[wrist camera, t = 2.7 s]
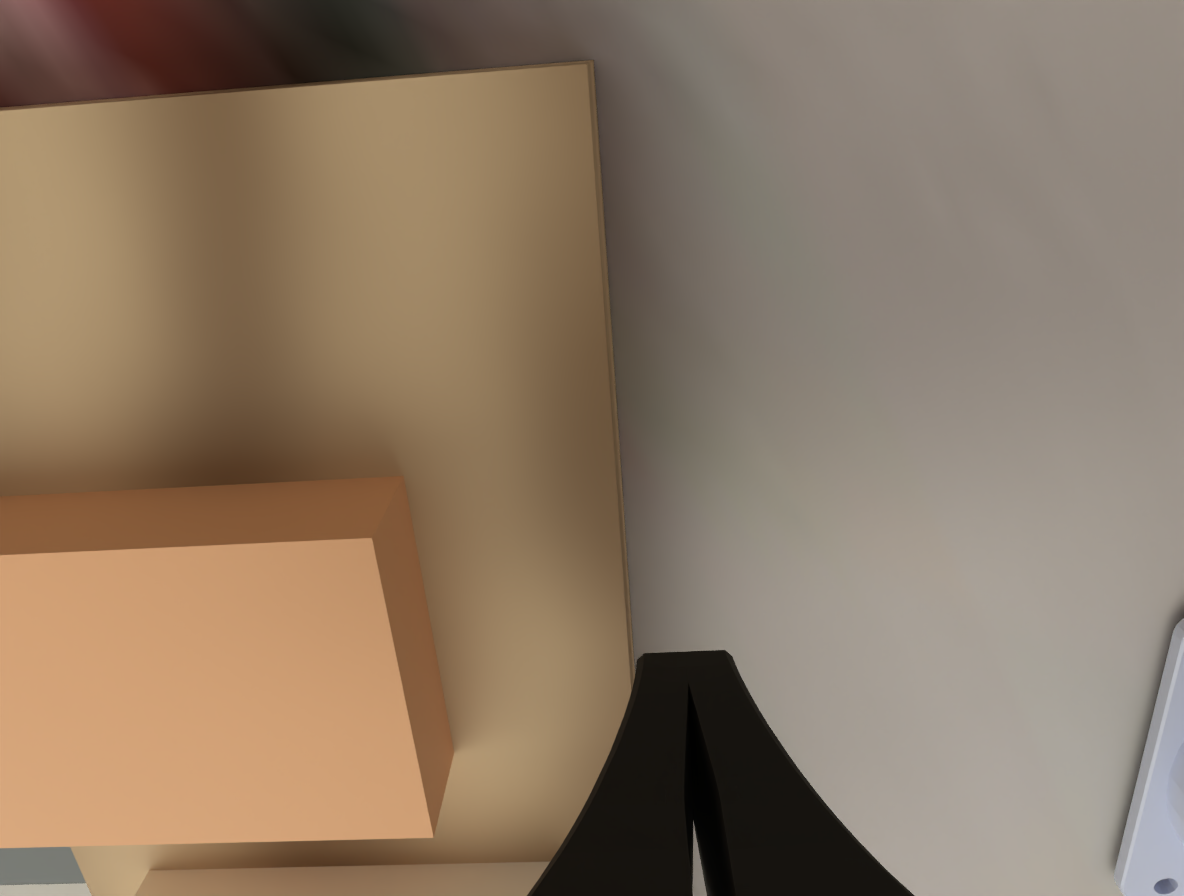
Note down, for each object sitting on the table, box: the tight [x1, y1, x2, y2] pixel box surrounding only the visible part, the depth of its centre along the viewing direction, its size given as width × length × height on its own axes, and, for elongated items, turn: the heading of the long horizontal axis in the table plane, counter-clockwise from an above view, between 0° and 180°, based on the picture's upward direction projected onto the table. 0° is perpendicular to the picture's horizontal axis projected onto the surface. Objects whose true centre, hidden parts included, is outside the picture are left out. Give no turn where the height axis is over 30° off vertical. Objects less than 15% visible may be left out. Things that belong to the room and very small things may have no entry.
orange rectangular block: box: [0, 476, 454, 848], centre depth 15 cm, size 9×6×2 cm, turn 94°
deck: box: [0, 60, 635, 896], centre depth 18 cm, size 12×22×2 cm, turn 4°
